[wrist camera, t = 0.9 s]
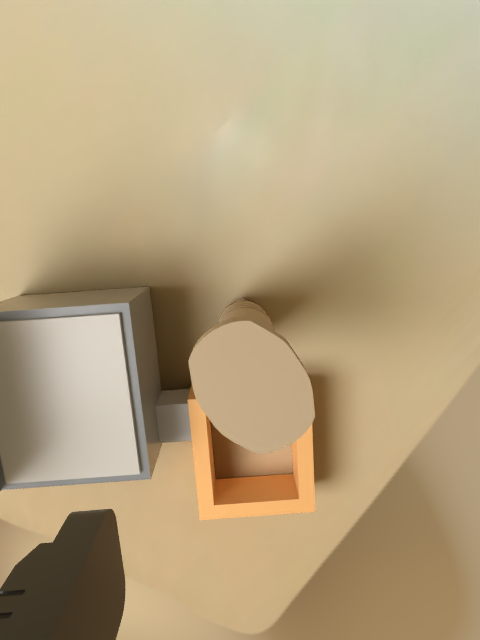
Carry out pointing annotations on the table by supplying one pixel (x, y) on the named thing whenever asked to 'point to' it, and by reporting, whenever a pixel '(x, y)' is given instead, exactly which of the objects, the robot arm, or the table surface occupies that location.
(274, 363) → the handle
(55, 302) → the chair with orange tray
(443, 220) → the table surface
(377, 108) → the table surface
